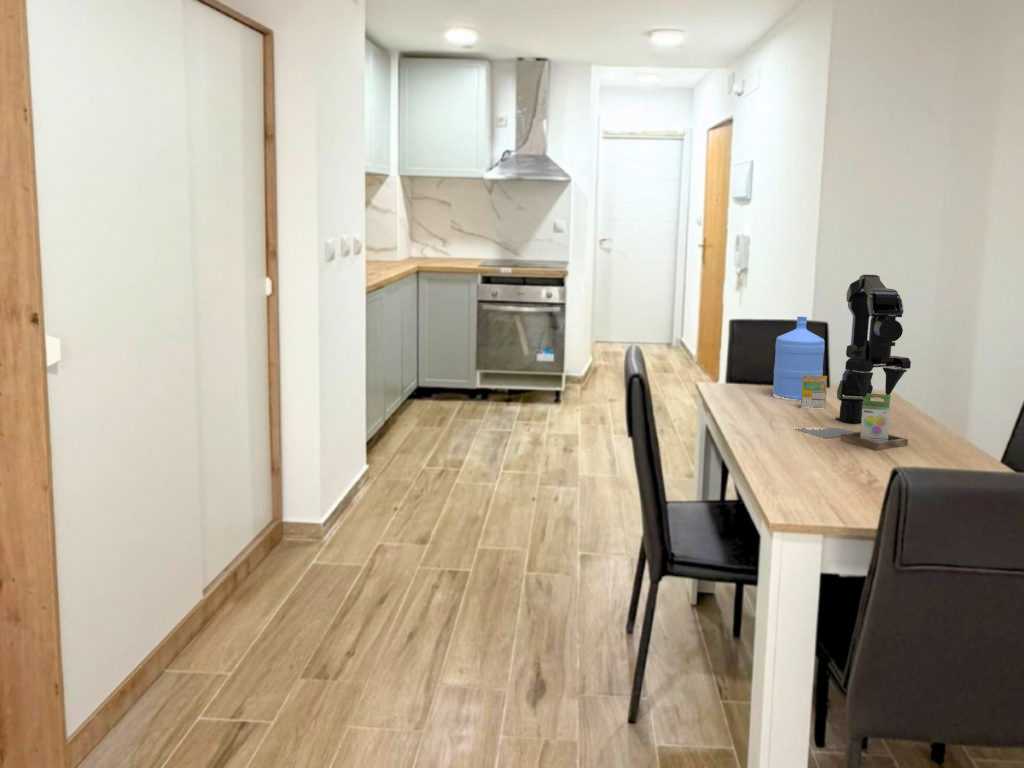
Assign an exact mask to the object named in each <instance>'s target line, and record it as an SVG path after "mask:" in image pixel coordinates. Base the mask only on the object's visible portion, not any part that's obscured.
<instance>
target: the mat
mask: <svg viewBox="0 0 1024 768" xmlns="http://www.w3.org/2000/svg"><path fill="white" fill-rule="evenodd" d="M826 429H827V430H826ZM826 429H823V430H821V429H819V430H814V429H812V430H807V429H805V427H804V428H802V429H799V428H798V429H795V430H794V431H797V430H798V431H797V432H800V431H801V432H800V433H805V434H807V433H809V434H808V435H811V434H812V435H811V436H814V435H815V437H818V436H819V437H818V438H821V437H822V438H821V439H827V440H828V438H829V439H835V438H836V439H837V438H840V437H841V434H846V433H854V432H856V431H854V430H850V429H846V428H839V427H830V428H826Z"/></svg>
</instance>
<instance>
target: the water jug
mask: <svg viewBox="0 0 1024 768" xmlns="http://www.w3.org/2000/svg"><path fill="white" fill-rule="evenodd" d="M796 318H797V319H796V327H795V329H793V330H789V332H786V333H784V334H781V335H778V336H777V337H776V341H775V352H774V353H775V356H774V367H773V386H772V387H773V388H772V393H773V394H775V395H777V396H780V397H784V398H789V399H797V400H801V396H802V380H803V375H816V376H824V375H823V374H824V373H823V372H824V369H823V368H824V355H825V354H824V353H825V350H826V349H825V348H826V347H825V346H826V345H825V339H824V338H822V337H821V336H819V335H817V334H815V333H813V332H812V331H810V330H808V329H807V324H808V323H807V319H808V317H807V316H797V317H796ZM810 379H814V380H820V378H817V377H810ZM772 393H771V394H772Z"/></svg>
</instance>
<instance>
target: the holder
mask: <svg viewBox="0 0 1024 768" xmlns="http://www.w3.org/2000/svg"><path fill="white" fill-rule="evenodd" d="M860 435H861V431H855V432H854V433H846V434H841V437H839V439H840V441H841V442H845V443H848V444H850V445H851V444H852V445H856V446H858V447H863V448H866V449H869V450H873V451H882V450H888V449H894V448H900V447H901V448H902V447H906V446H908V445H909V443H908V442H909V439H908V438H905V437H902V436H901V437H900V436H897V435H892V434H889V433H888V441H882V442H873V441H870V440H866V439H862V438H860Z"/></svg>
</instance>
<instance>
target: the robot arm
mask: <svg viewBox="0 0 1024 768" xmlns="http://www.w3.org/2000/svg"><path fill="white" fill-rule="evenodd" d="M846 302H847V309H848V310H849V311H850V314H851V315H852V325H851V339H850V344H849V345H847V346H846V351H845V355H846V358H848V359H847V360H846V361H845V368H844V369H845V370H844V371H843V373H842V377H841V378H842V379H841V380H840V381H839V383H838V386H837V390H836V399H837V400H839V401H840V402H841V403H840V405H839V416H838V417H835V419H836V420H838V421H841V422H846V423H850V424H855V423H861V422H862V409H863V399H864V397H866V395H867V393H871V394H873V393H872V392H873V389H874V386H873V385H872V379H873V375H874V372H872V371H873V370H874V368H881V369H882V370H883V372H884V374H885V385H884V386H885V389H884V390H885V395H891V394H892V391H894V389H895V387H896V385H897V384H898V382H899V381H900V380H901V379H902V377H903V375H904V374H905V373H906V372H908V370H907V369H911V364H912V363H911V362H912V361H911V359H910V357H906V356H898V355H892V347H896V341H898V340H899V339H901V337H902V335H903V331H904V329H903V326H902V324H901V322H900V321H898V320H897V318H902V317H903V314H904V312H905V311H904V305H903V300H902V298H901V294H899V292H898V290H896V289H893V288H887V286H885V285H884V283H883V282H882V280H881V277H880V275H877V274H862V275H859V278H858V279H856V280H855V281H854V282H851V283H850V284H849V286H848V289H847V290H846ZM869 400H870V401H871V398H870V399H869Z"/></svg>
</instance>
